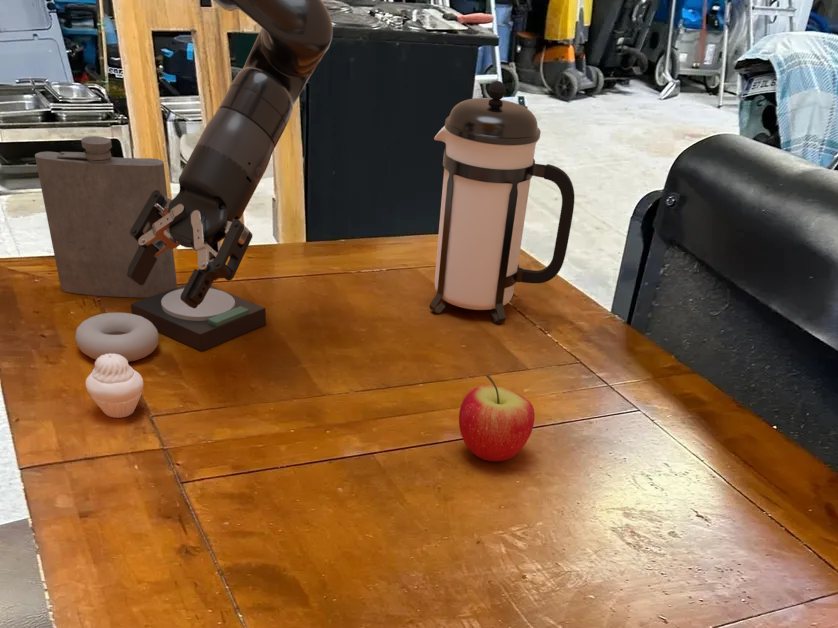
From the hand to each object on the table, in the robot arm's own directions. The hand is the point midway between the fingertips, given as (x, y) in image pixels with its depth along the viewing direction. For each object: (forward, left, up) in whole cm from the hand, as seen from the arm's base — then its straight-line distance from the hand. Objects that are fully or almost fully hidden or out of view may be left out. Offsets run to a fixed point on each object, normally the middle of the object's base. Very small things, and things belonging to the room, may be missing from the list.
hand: (160, 292), depth 99 cm
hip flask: (-26, +14, -12) cm, 32 cm away
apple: (+37, +14, -12) cm, 41 cm away
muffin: (0, -8, -12) cm, 14 cm away
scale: (-11, +15, -12) cm, 22 cm away
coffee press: (+13, +49, -12) cm, 52 cm away
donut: (-12, +2, -12) cm, 17 cm away
